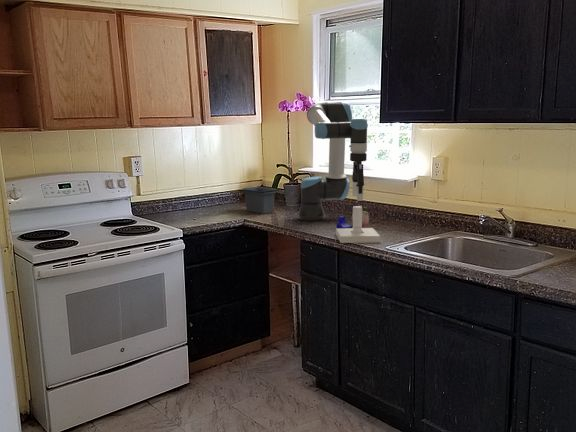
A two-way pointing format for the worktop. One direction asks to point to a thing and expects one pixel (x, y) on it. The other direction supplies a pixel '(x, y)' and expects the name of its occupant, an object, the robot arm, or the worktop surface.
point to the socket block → (357, 235)
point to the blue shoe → (343, 223)
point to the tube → (357, 219)
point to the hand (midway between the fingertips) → (357, 198)
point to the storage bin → (259, 199)
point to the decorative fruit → (363, 218)
